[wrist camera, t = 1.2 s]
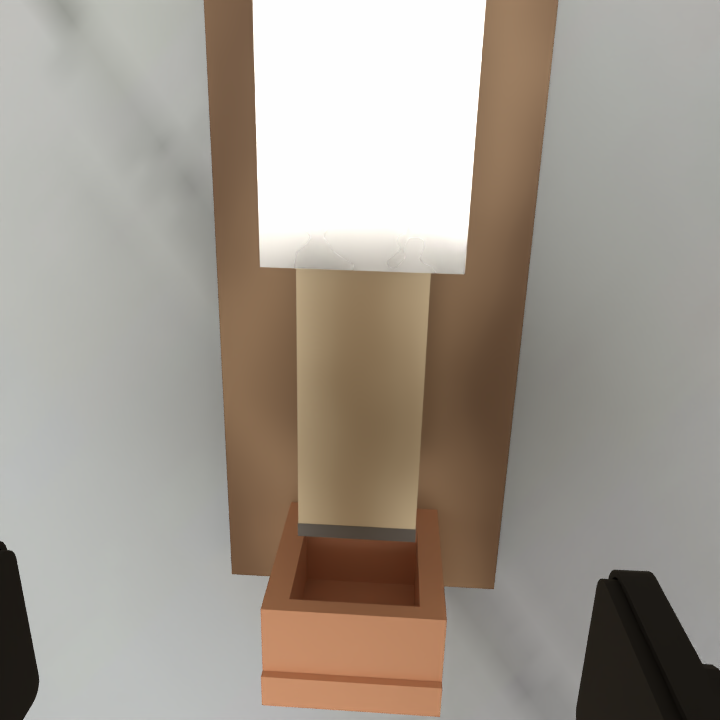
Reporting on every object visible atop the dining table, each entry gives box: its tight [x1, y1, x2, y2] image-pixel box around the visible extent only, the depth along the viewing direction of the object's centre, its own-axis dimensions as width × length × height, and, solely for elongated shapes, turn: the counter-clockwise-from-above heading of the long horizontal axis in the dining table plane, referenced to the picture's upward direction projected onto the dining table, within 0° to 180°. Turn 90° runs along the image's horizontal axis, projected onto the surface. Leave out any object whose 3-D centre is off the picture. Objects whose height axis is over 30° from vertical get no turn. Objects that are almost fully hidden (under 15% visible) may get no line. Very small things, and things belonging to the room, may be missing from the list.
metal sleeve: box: [253, 0, 486, 274], centre depth 21 cm, size 6×9×7 cm, turn 179°
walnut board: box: [204, 0, 558, 589], centre depth 28 cm, size 12×26×2 cm, turn 179°
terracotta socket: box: [261, 502, 447, 717], centre depth 27 cm, size 6×4×7 cm, turn 89°
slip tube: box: [296, 268, 431, 542], centre depth 22 cm, size 4×18×4 cm, turn 179°
